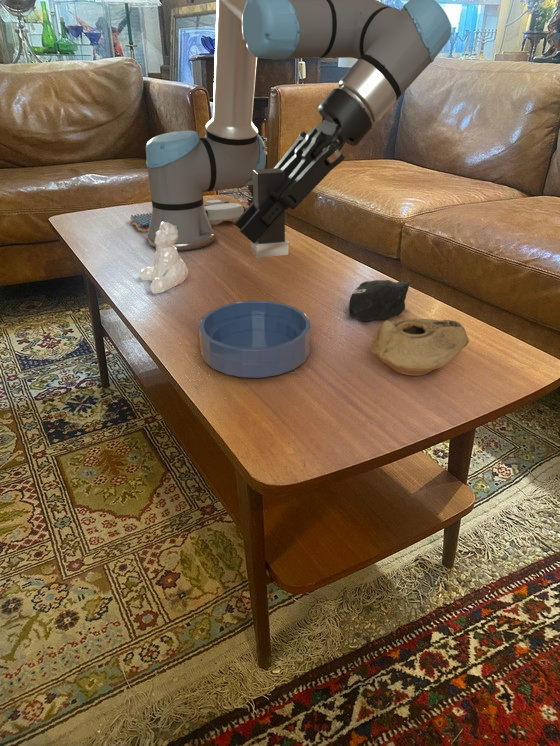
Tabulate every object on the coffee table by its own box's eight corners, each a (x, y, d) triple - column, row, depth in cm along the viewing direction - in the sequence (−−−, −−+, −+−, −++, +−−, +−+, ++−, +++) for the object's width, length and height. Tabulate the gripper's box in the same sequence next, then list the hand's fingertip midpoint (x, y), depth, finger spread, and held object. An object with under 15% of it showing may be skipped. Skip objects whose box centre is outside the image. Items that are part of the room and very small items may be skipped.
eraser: (256, 258, 82) (254, 174, 75) (250, 250, 85) (248, 169, 78) (288, 254, 83) (289, 172, 77) (281, 247, 86) (281, 167, 80)
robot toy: (189, 218, 148) (207, 229, 136) (187, 201, 146) (205, 210, 134) (231, 213, 153) (252, 223, 141) (230, 196, 151) (251, 205, 139)
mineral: (399, 330, 90) (403, 297, 87) (345, 323, 92) (347, 291, 89) (406, 306, 98) (410, 275, 95) (357, 300, 100) (359, 270, 97)
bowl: (194, 335, 88) (191, 307, 86) (291, 322, 92) (291, 295, 90) (211, 388, 75) (209, 357, 72) (324, 371, 79) (325, 341, 76)
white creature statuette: (138, 278, 109) (130, 218, 103) (179, 270, 113) (174, 212, 106) (153, 295, 102) (145, 231, 96) (196, 286, 106) (191, 225, 99)
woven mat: (167, 217, 146) (166, 209, 145) (180, 227, 138) (180, 219, 137) (128, 222, 142) (127, 214, 141) (140, 233, 134) (139, 225, 133)
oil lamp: (480, 366, 80) (491, 317, 76) (405, 397, 73) (412, 344, 69) (426, 336, 88) (433, 290, 84) (353, 362, 81) (357, 313, 77)
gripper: (396, 133, 72) (276, 267, 76) (349, 119, 85) (249, 233, 90) (362, 89, 68) (237, 233, 72) (318, 81, 81) (215, 203, 86)
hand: (244, 233), depth 81 cm, fingers closed on eraser, 3 cm apart
